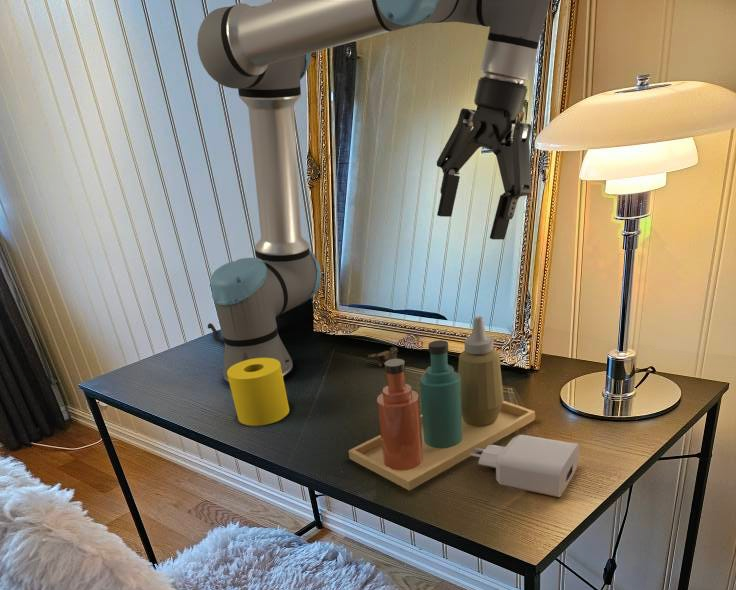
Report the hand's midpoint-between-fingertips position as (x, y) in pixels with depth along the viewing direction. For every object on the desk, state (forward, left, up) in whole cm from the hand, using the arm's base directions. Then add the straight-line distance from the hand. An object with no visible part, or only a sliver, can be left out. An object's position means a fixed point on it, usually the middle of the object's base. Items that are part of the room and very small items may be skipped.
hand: (469, 227), depth 110 cm
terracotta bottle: (+11, -28, -29) cm, 42 cm away
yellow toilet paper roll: (-24, -33, -29) cm, 50 cm away
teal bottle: (+11, -19, -29) cm, 36 cm away
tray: (+11, -19, -29) cm, 37 cm away
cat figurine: (-23, -3, -29) cm, 37 cm away
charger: (+27, -19, -29) cm, 44 cm away
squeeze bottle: (+11, -10, -29) cm, 33 cm away
